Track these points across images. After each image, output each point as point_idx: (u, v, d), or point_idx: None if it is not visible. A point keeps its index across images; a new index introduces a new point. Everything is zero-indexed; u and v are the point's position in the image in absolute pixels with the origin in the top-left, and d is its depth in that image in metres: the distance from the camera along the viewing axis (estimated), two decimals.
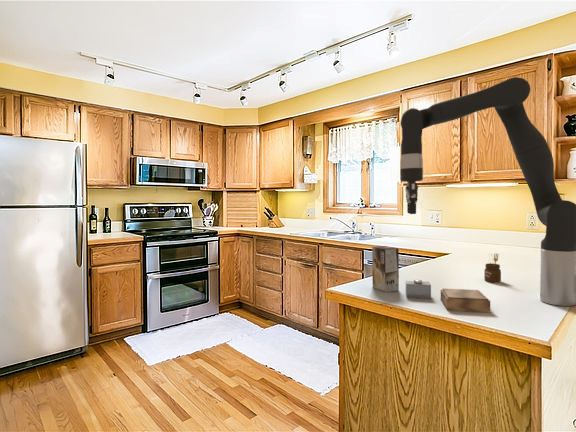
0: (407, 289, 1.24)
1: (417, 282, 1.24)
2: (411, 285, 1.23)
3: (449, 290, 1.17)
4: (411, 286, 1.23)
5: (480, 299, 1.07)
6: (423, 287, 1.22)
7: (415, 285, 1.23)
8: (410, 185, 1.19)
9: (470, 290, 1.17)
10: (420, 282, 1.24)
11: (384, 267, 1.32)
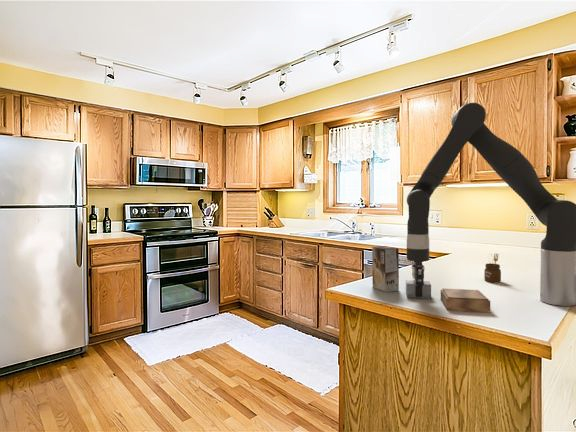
0: (407, 289, 1.24)
1: None
2: (411, 285, 1.23)
3: (449, 290, 1.17)
4: (411, 286, 1.23)
5: (480, 299, 1.07)
6: (424, 287, 1.22)
7: None
8: (417, 271, 1.19)
9: (470, 290, 1.17)
10: None
11: (384, 267, 1.32)
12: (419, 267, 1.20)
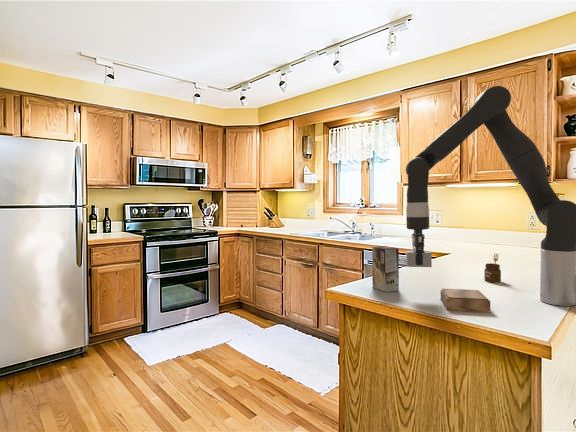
0: (408, 258, 1.23)
1: None
2: (411, 253, 1.23)
3: (449, 290, 1.17)
4: (411, 254, 1.23)
5: (480, 299, 1.07)
6: (424, 255, 1.22)
7: None
8: (417, 239, 1.18)
9: (470, 290, 1.17)
10: None
11: (384, 267, 1.32)
12: (419, 235, 1.20)
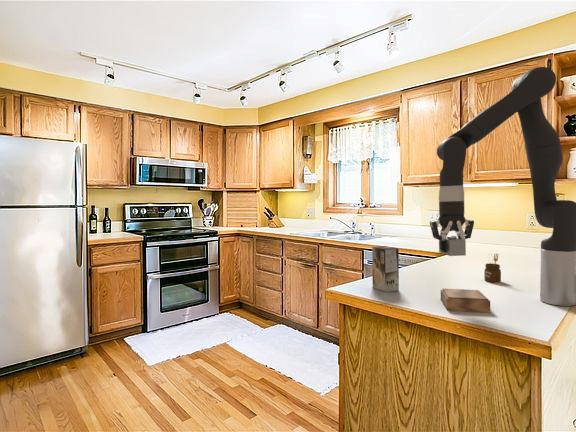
0: None
1: (447, 237, 1.16)
2: None
3: (449, 290, 1.17)
4: None
5: (480, 299, 1.07)
6: (446, 243, 1.14)
7: None
8: (430, 223, 1.17)
9: (470, 290, 1.17)
10: (449, 237, 1.15)
11: (384, 267, 1.32)
12: (437, 220, 1.16)
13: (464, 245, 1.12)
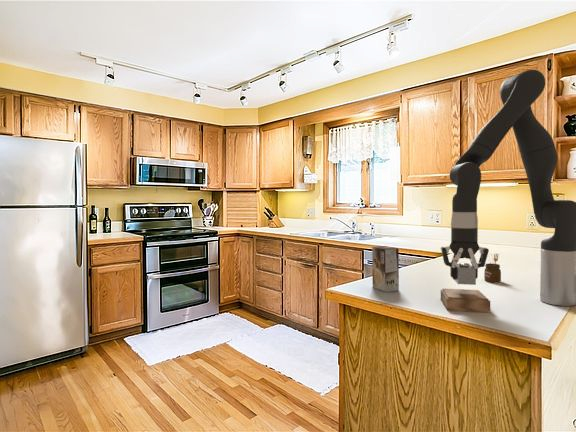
0: None
1: (459, 264, 1.13)
2: None
3: (449, 290, 1.17)
4: None
5: (480, 299, 1.07)
6: (456, 270, 1.12)
7: None
8: (441, 249, 1.15)
9: (470, 290, 1.17)
10: (460, 265, 1.12)
11: (384, 267, 1.32)
12: (448, 246, 1.14)
13: (474, 274, 1.08)
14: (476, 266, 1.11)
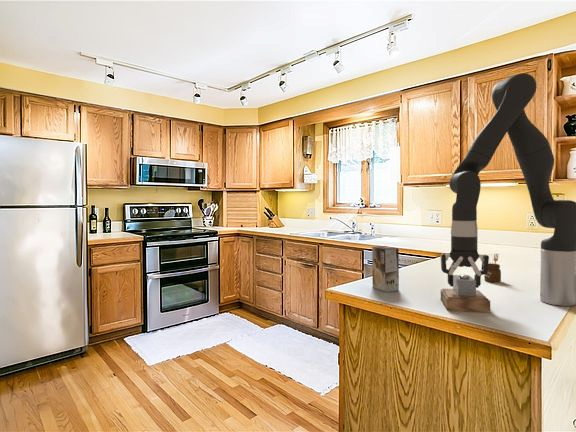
0: (453, 281, 1.17)
1: (459, 276, 1.13)
2: (454, 277, 1.16)
3: (449, 290, 1.17)
4: (454, 278, 1.16)
5: (480, 299, 1.07)
6: (456, 282, 1.12)
7: (454, 278, 1.15)
8: (440, 255, 1.15)
9: None
10: (460, 277, 1.12)
11: (384, 267, 1.32)
12: (448, 254, 1.14)
13: (474, 286, 1.09)
14: (479, 273, 1.11)
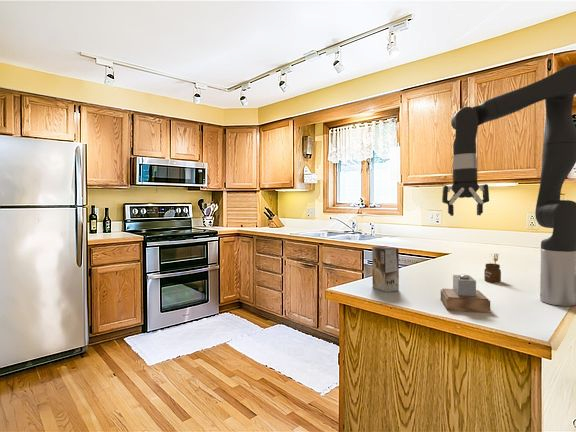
0: (453, 281, 1.17)
1: (459, 276, 1.13)
2: (454, 277, 1.16)
3: (449, 290, 1.17)
4: (454, 278, 1.16)
5: (480, 299, 1.07)
6: (456, 282, 1.12)
7: (454, 278, 1.15)
8: (443, 188, 1.24)
9: None
10: (460, 277, 1.12)
11: (384, 267, 1.32)
12: (450, 186, 1.22)
13: (474, 286, 1.09)
14: (481, 201, 1.19)
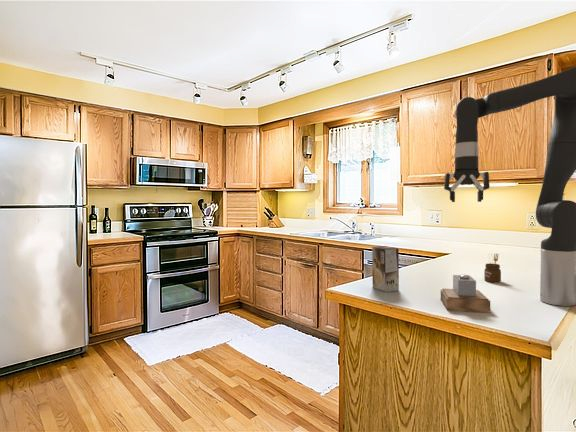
0: (453, 281, 1.17)
1: (459, 276, 1.13)
2: (454, 277, 1.16)
3: (449, 290, 1.17)
4: (454, 278, 1.16)
5: (480, 299, 1.07)
6: (456, 282, 1.12)
7: (454, 278, 1.15)
8: (445, 175, 1.29)
9: None
10: (460, 277, 1.12)
11: (384, 267, 1.32)
12: None
13: (474, 286, 1.09)
14: (482, 188, 1.24)
